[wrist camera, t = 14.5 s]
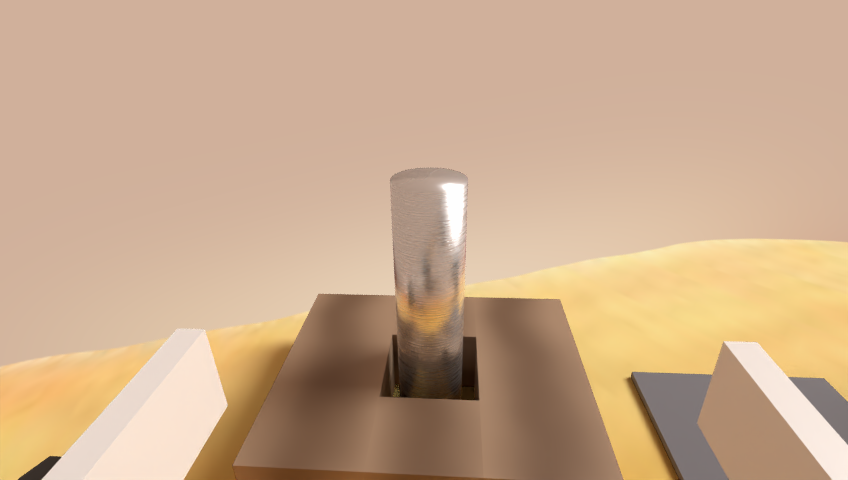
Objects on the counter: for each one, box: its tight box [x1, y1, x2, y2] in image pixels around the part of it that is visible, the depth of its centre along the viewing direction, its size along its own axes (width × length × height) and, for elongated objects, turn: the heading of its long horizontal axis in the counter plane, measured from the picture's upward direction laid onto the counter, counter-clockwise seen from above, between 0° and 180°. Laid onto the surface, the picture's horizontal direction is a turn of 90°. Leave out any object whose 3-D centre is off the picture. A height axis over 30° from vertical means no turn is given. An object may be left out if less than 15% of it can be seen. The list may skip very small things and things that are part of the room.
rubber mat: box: [631, 372, 848, 480], centre depth 25 cm, size 12×12×1 cm
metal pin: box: [390, 168, 468, 400], centre depth 25 cm, size 4×4×15 cm
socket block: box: [232, 294, 623, 480], centre depth 27 cm, size 17×14×4 cm
